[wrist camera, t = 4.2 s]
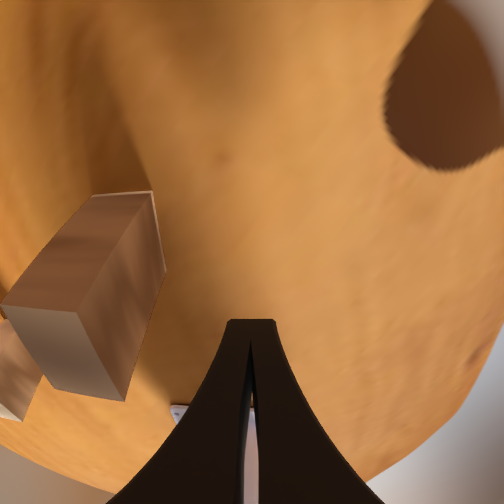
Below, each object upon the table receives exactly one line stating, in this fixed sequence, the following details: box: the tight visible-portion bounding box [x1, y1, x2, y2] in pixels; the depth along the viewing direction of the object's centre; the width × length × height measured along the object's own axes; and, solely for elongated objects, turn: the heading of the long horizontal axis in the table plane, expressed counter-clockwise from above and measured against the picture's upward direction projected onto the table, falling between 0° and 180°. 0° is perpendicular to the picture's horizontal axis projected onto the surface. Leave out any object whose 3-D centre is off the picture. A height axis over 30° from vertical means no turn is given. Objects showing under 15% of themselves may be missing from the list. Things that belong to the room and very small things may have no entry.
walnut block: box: [0, 190, 167, 402], centre depth 12 cm, size 4×3×8 cm
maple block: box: [0, 319, 43, 422], centre depth 18 cm, size 4×3×7 cm
